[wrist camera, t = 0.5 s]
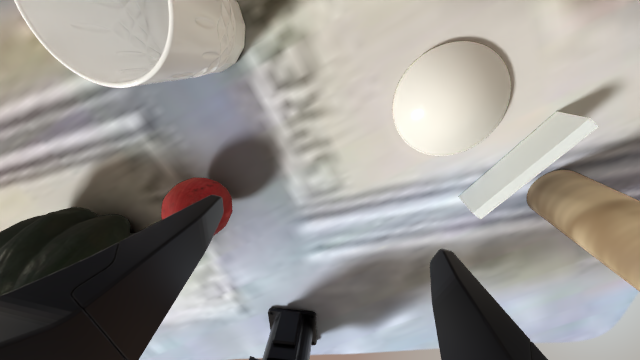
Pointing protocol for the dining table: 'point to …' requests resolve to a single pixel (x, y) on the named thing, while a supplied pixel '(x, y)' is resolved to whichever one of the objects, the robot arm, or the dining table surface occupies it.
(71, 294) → the robot arm
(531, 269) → the dining table surface
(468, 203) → the divider wall
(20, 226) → the squash
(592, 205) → the pepper mill
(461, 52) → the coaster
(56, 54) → the white cup
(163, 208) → the onion
